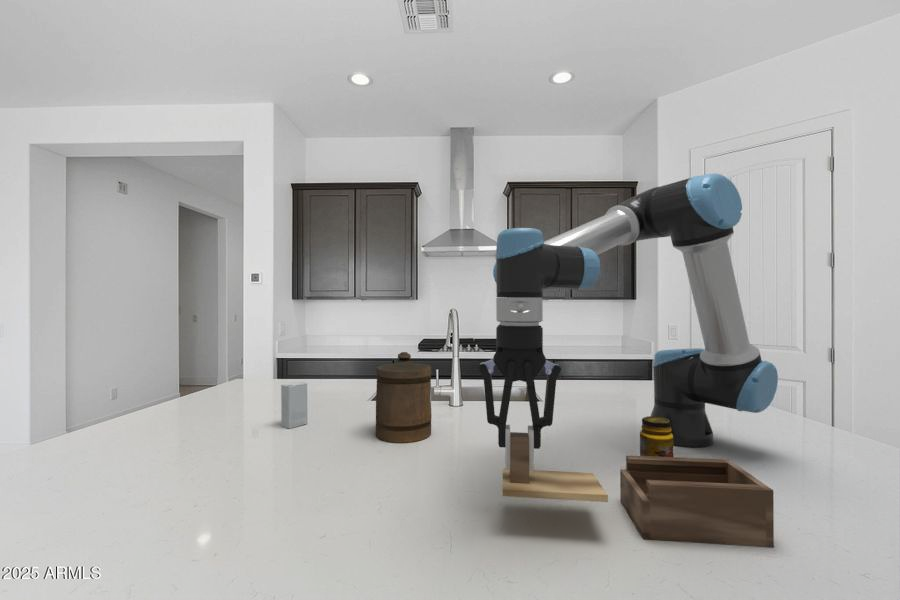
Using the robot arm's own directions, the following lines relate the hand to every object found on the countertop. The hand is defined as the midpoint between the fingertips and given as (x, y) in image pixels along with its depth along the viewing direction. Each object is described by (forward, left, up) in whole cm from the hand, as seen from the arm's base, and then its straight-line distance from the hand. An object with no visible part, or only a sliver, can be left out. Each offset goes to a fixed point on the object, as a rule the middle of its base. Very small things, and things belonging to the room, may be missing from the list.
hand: (519, 466), depth 69 cm
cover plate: (0, +5, -3) cm, 6 cm away
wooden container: (-41, -29, -9) cm, 51 cm away
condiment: (-19, +27, -9) cm, 34 cm away
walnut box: (-2, +27, -8) cm, 28 cm away
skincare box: (-45, -62, -9) cm, 77 cm away
